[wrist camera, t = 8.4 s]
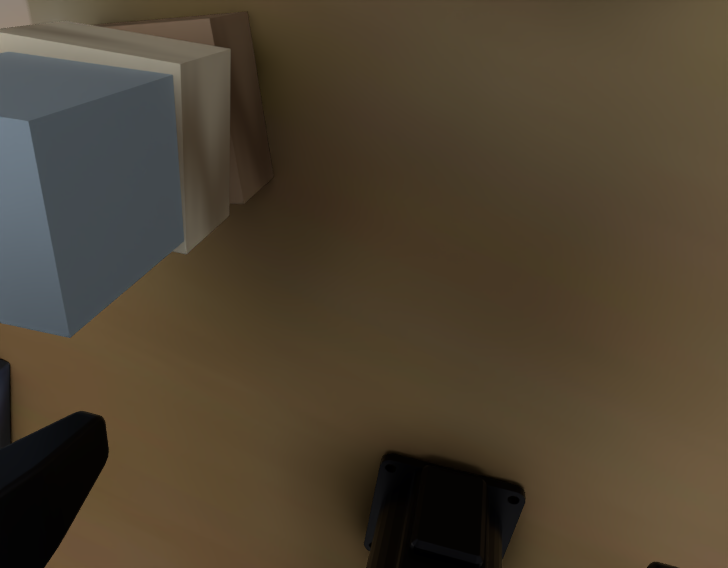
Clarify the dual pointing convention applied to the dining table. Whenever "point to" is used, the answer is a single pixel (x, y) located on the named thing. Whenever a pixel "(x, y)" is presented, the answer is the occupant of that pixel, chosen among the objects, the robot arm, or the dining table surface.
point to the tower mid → (191, 94)
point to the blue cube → (82, 187)
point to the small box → (4, 403)
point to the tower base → (245, 98)
